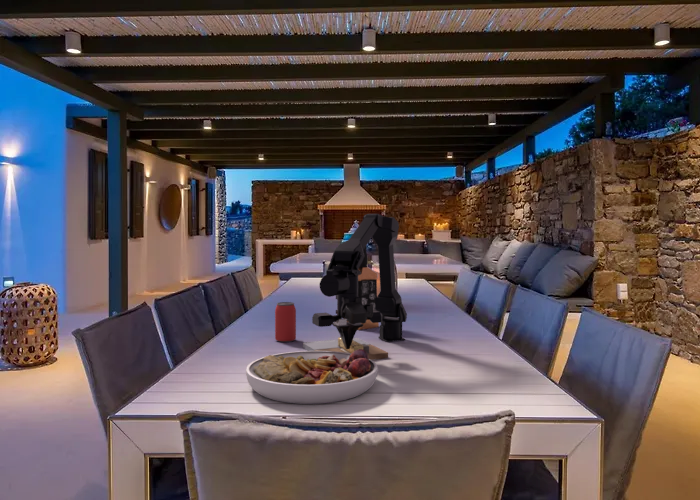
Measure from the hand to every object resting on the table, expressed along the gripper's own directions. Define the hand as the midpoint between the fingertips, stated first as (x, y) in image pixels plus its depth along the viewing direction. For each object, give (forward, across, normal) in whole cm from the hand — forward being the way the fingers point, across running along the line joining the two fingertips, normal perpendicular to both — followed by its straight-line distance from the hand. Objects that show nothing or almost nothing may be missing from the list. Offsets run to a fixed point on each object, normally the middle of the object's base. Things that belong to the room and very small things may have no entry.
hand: (347, 349), depth 147 cm
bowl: (+4, -16, -18) cm, 25 cm away
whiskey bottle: (+3, +23, +43) cm, 49 cm away
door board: (+3, +2, +3) cm, 5 cm away
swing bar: (+1, +2, +4) cm, 5 cm away
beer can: (+3, -9, +31) cm, 32 cm away
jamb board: (+3, +2, +13) cm, 13 cm away
